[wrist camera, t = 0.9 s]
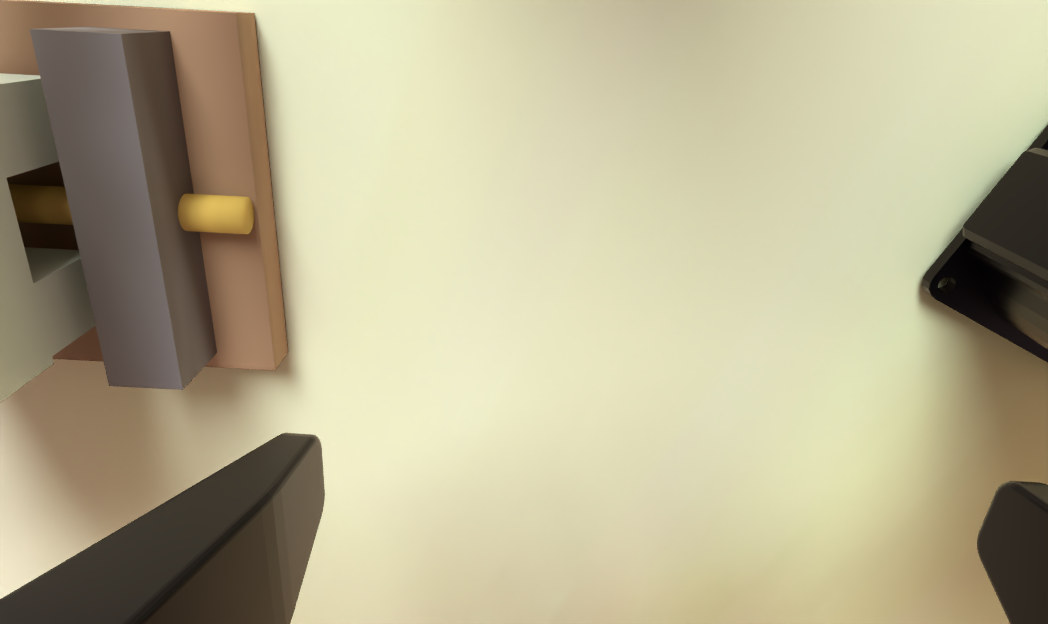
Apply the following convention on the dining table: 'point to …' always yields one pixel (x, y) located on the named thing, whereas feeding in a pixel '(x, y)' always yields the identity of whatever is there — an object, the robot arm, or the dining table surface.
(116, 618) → the robot arm
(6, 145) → the tall pale green box
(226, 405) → the dining table surface
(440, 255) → the dining table surface
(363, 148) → the dining table surface
